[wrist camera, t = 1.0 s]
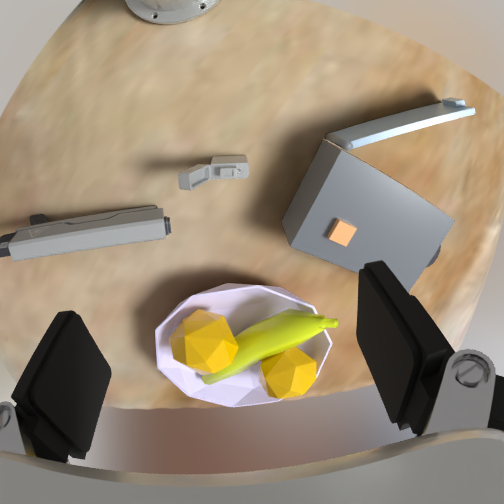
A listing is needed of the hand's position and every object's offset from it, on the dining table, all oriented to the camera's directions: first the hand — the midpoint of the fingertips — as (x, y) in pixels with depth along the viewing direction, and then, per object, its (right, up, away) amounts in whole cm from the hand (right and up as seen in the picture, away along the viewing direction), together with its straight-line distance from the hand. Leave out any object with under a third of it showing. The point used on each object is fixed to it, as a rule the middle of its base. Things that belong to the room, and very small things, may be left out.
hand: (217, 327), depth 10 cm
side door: (+19, +20, +25) cm, 37 cm away
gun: (-21, +7, +30) cm, 37 cm away
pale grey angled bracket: (-3, +13, +27) cm, 31 cm away
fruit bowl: (0, -10, +41) cm, 42 cm away
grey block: (+16, +8, +31) cm, 36 cm away
